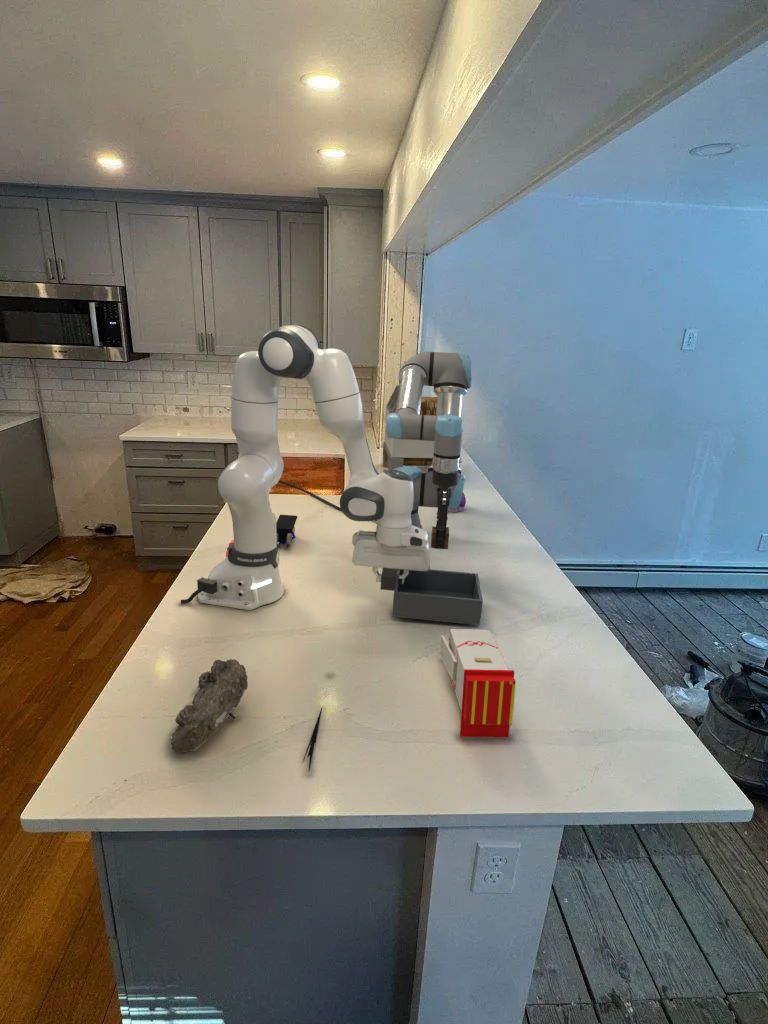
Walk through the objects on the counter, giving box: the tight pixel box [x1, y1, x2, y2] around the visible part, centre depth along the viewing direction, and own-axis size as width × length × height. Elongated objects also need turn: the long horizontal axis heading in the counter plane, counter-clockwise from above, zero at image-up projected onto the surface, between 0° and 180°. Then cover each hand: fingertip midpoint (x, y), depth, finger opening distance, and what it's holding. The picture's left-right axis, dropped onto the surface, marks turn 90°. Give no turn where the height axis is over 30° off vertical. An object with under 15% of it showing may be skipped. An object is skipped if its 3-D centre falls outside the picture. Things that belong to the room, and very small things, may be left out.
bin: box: [380, 568, 484, 626], centre depth 148 cm, size 26×16×8 cm, turn 86°
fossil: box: [170, 658, 249, 753], centre depth 106 cm, size 22×10×15 cm
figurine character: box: [276, 514, 298, 549], centre depth 187 cm, size 7×8×15 cm
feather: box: [301, 673, 332, 771], centre depth 108 cm, size 2×28×2 cm
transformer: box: [381, 384, 464, 470], centre depth 268 cm, size 34×33×41 cm
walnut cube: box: [430, 525, 450, 550], centre depth 170 cm, size 5×5×5 cm
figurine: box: [448, 492, 467, 513], centre depth 225 cm, size 9×10×15 cm
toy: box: [438, 628, 517, 738], centre depth 117 cm, size 12×13×30 cm
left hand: (390, 582), depth 148 cm, fingers closed on bin, 4 cm apart
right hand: (439, 544), depth 170 cm, fingers closed on walnut cube, 5 cm apart
